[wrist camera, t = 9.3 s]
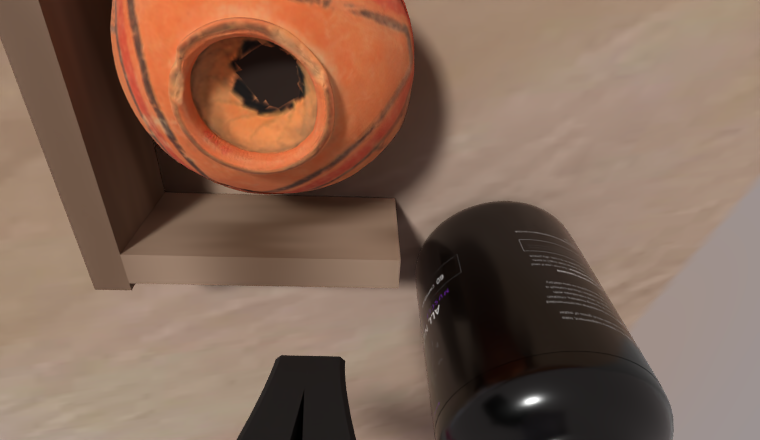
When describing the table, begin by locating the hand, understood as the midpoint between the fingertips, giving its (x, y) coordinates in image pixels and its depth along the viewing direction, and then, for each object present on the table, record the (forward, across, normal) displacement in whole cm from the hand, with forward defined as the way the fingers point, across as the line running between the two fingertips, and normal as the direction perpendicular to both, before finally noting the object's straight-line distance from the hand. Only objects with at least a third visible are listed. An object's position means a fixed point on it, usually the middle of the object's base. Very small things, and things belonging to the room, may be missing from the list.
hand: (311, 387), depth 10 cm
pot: (+10, +2, -5) cm, 11 cm away
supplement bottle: (+10, -7, +4) cm, 13 cm away
